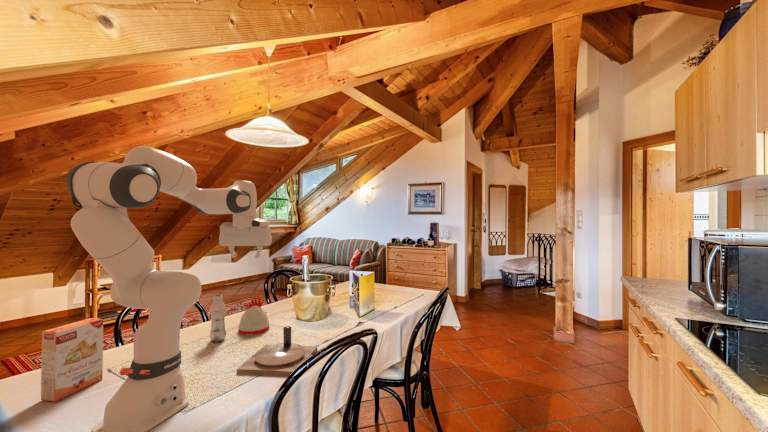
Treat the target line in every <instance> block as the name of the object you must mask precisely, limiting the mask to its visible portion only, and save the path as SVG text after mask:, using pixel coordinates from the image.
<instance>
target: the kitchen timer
mask: <svg viewBox="0 0 768 432" xmlns="http://www.w3.org/2000/svg"><path fill="white" fill-rule="evenodd" d="M263 304H264V300H262V301H261V298H260V297H259V299H258V300H257V298H255V299H253V298H252V299H251V301H248V306H247V304H245V308H246V309H245V310H244V312H243V313H242V315H241V317H240V321H239V323H238V333H239V334H241V335H244V334H253V335H259V334H262V332H263V333H265V332H267V331H269V330H270V319H269V318H268V314H267V312H266V311H265V310H264V309H263V307H262V305H263ZM266 330H267V331H266ZM264 331H265V332H264ZM258 333H259V334H258Z"/></svg>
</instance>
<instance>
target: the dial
mask: <svg viewBox="0 0 768 432" xmlns="http://www.w3.org/2000/svg"><path fill="white" fill-rule="evenodd" d="M269 345H270V346H266V347H264V348H262V347H261V348H262V349H261V348H260V349H259V350H257V351H256V352H255V353H256V354H255V353H254V354H255V362H256V363H257V364H258V365H261V366H265V367H279V366H285V365H289V364H292V363H295V362H297V361H299V360H300V359H302V358H303V356H304V347H303V346H304V345H302V344H298V343H293V342H292V326H290V325H289V326H288V325H287V326H284V327H283V342H282V343H281V342H280V343H274V344H269Z"/></svg>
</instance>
